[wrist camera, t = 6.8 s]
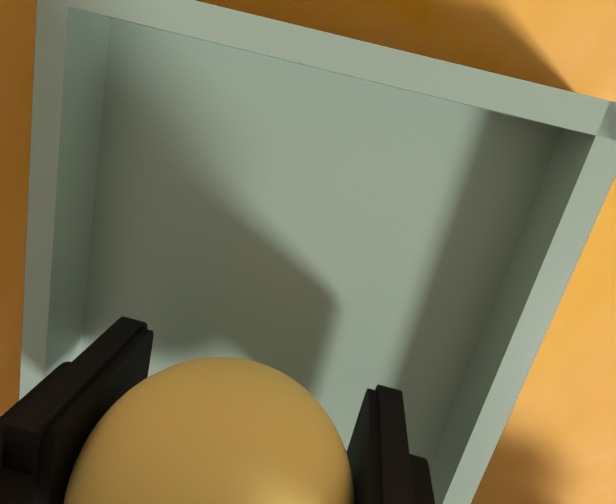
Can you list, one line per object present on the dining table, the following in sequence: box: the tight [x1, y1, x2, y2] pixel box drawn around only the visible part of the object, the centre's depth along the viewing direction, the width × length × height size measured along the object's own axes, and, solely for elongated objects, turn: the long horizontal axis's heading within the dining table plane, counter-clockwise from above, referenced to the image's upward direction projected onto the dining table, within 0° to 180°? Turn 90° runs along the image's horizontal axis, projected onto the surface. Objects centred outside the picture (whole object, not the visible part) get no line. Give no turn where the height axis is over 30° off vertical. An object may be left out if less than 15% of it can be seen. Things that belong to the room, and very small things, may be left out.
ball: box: [64, 357, 355, 504], centre depth 9 cm, size 5×5×5 cm
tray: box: [19, 0, 616, 504], centre depth 13 cm, size 16×11×2 cm
